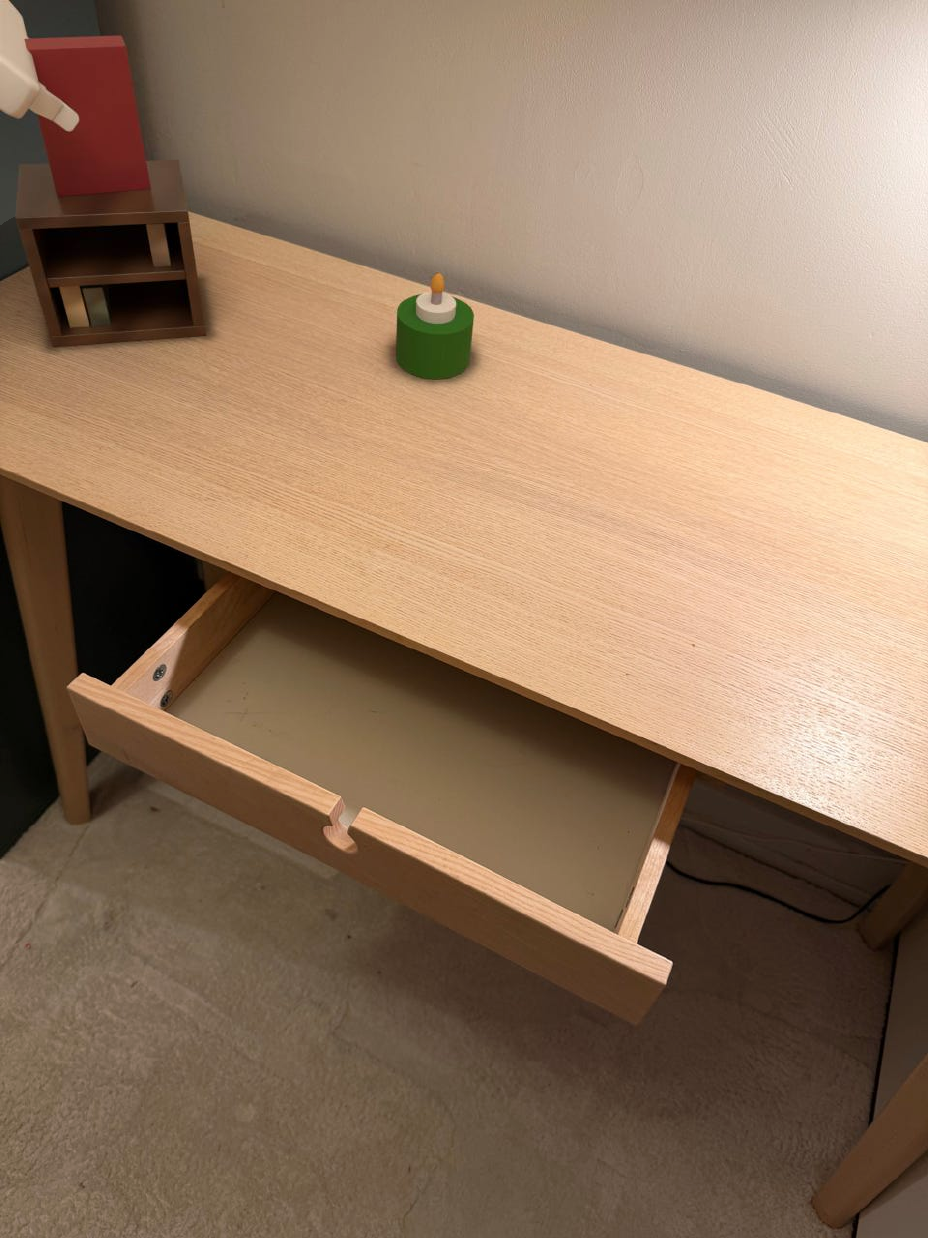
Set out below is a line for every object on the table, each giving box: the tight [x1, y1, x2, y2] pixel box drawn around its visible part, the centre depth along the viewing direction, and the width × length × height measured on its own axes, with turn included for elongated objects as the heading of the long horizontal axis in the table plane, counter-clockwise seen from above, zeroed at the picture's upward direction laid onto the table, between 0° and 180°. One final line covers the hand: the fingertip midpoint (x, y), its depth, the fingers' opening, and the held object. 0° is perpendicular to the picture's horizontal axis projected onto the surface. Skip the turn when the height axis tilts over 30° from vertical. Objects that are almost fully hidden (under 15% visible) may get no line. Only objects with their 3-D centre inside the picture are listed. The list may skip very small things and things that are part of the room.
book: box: [24, 35, 151, 197], centre depth 88 cm, size 9×3×13 cm, turn 112°
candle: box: [395, 272, 475, 380], centre depth 98 cm, size 8×8×10 cm
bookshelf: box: [15, 159, 207, 348], centre depth 98 cm, size 16×12×14 cm
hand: (69, 103), depth 86 cm, fingers open, 8 cm apart
